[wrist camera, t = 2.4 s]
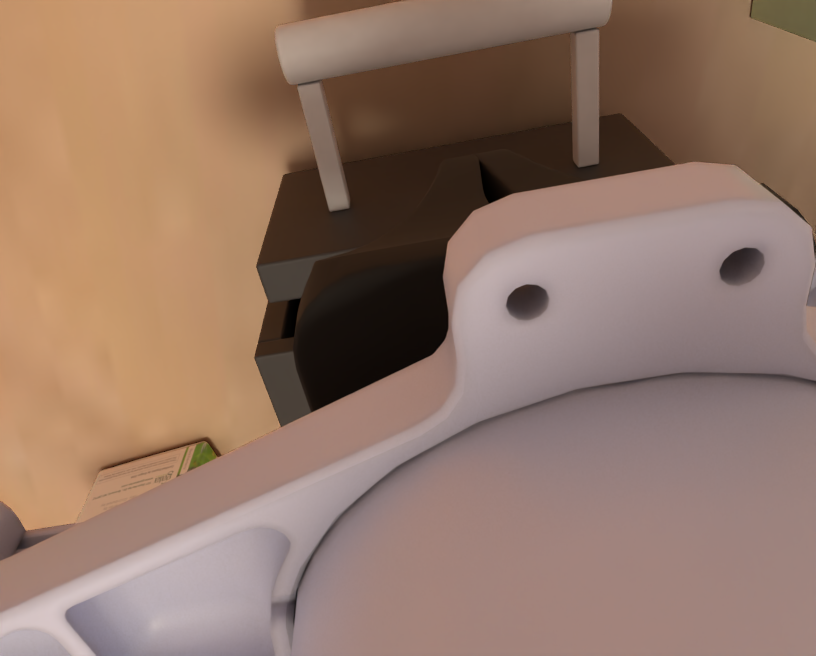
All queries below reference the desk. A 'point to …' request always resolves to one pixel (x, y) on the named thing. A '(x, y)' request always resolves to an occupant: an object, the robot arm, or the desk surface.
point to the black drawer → (416, 170)
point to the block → (788, 15)
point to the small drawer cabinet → (281, 361)
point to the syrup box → (142, 477)
